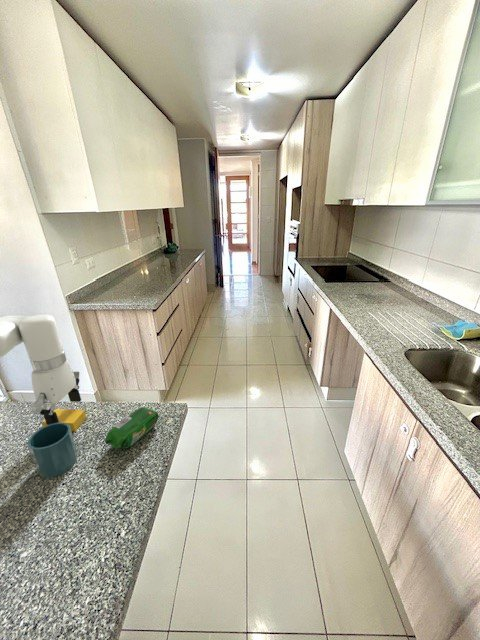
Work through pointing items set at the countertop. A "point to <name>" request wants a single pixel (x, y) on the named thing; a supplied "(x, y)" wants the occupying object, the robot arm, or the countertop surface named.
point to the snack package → (131, 428)
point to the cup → (53, 450)
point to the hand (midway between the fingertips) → (65, 412)
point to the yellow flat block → (70, 418)
